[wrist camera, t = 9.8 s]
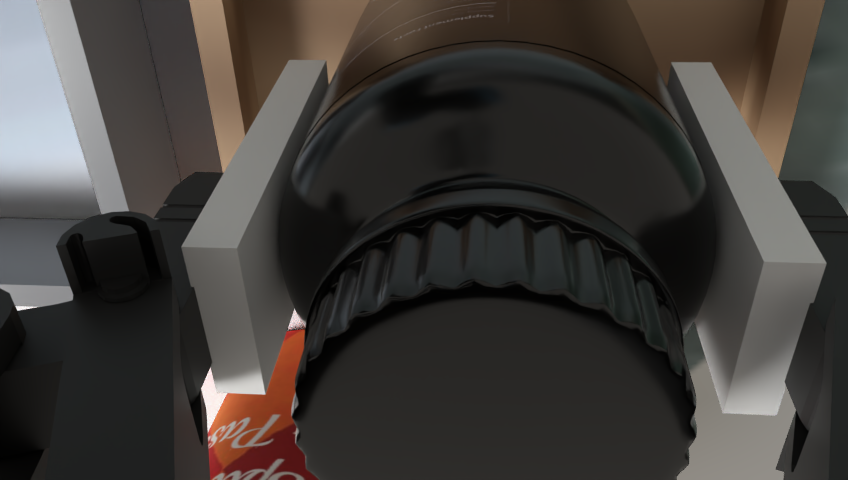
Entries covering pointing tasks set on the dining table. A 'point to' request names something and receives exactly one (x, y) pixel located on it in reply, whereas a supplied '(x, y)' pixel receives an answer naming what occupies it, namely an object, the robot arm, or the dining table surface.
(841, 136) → the dining table surface
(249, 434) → the coffee cup
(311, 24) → the tray
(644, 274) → the supplement bottle
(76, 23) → the holder box
